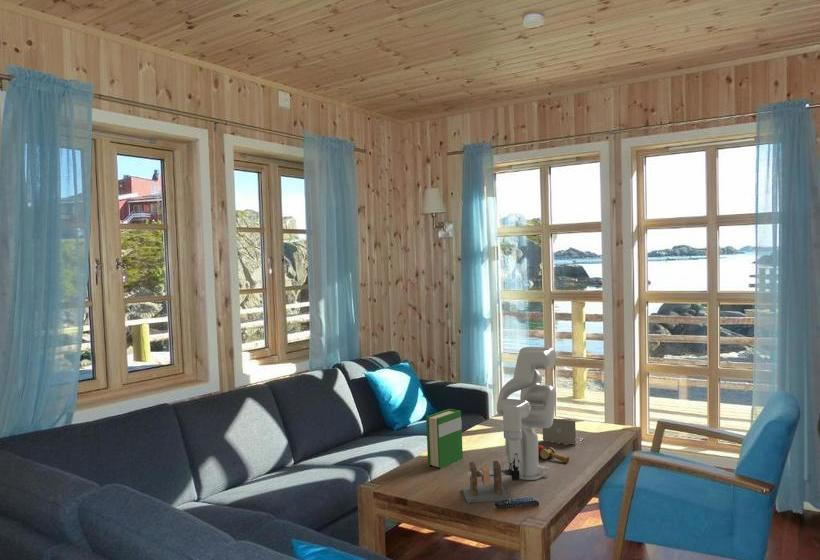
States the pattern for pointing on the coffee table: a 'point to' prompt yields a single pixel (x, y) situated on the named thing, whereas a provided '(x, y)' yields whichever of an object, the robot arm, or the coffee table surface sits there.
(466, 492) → the base board
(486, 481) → the collar
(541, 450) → the kendama
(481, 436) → the coffee table surface
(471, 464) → the stand
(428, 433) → the hardback book
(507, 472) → the shaft
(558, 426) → the laptop
